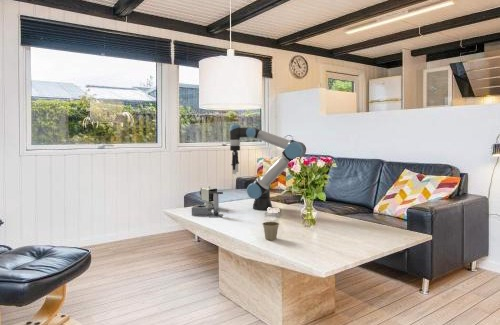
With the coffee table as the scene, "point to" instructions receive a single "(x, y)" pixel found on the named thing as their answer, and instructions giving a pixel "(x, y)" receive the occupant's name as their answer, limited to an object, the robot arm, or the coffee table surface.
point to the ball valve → (207, 195)
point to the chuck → (201, 210)
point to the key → (216, 202)
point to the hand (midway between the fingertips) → (235, 173)
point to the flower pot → (270, 230)
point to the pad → (216, 216)
